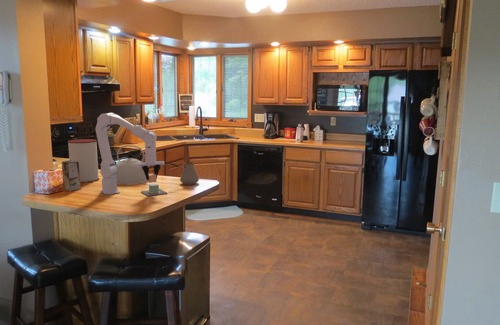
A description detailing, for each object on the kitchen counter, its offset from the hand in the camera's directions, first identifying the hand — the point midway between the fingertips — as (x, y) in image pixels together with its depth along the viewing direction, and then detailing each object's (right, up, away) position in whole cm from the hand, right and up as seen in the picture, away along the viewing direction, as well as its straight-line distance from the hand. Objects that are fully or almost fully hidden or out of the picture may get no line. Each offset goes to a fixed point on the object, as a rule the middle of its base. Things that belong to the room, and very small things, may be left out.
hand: (151, 179), depth 231 cm
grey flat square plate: (+1, -8, +4) cm, 9 cm away
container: (-51, -2, +36) cm, 62 cm away
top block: (0, -1, 0) cm, 1 cm away
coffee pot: (+13, -5, +24) cm, 28 cm away
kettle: (-20, -3, +35) cm, 41 cm away
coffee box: (-49, -6, +12) cm, 51 cm away
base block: (+1, -7, +4) cm, 8 cm away
